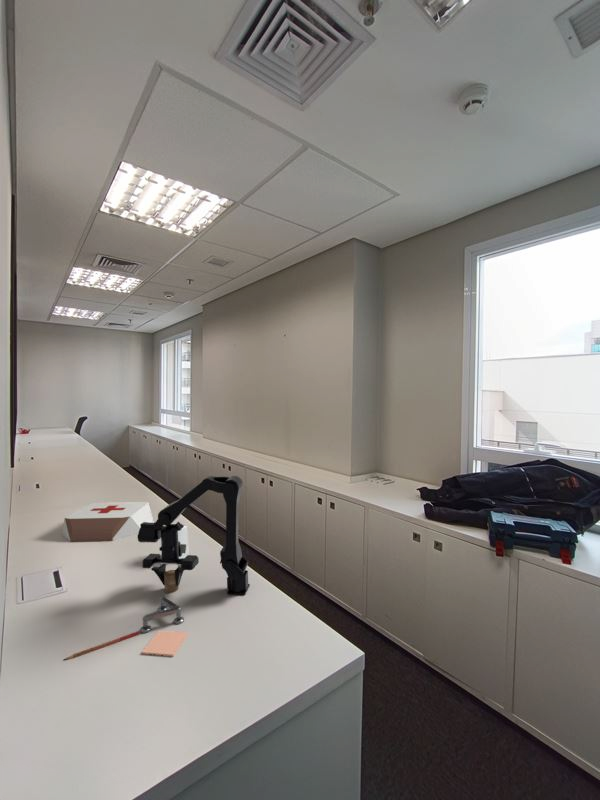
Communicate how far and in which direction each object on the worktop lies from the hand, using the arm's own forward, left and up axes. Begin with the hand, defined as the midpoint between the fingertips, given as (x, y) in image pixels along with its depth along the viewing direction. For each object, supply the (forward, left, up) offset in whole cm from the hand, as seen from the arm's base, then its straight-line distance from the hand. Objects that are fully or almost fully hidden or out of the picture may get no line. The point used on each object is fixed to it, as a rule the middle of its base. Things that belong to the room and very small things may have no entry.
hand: (171, 585), depth 133 cm
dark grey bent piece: (-7, +17, -2) cm, 18 cm away
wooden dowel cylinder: (0, 0, -2) cm, 2 cm away
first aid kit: (+61, -53, -2) cm, 81 cm away
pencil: (+5, +30, -2) cm, 30 cm away
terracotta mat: (-12, +27, -2) cm, 30 cm away
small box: (+10, -24, -2) cm, 26 cm away
